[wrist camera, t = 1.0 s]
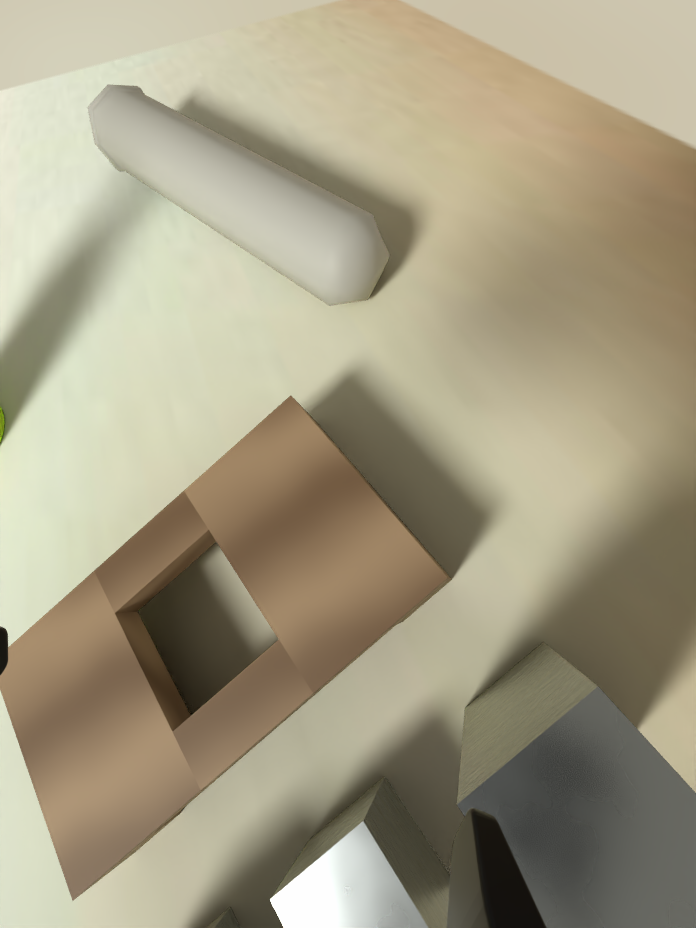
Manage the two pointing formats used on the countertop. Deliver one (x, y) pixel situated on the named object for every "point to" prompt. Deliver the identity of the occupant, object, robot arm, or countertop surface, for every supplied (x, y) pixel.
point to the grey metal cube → (366, 872)
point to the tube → (243, 196)
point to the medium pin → (225, 920)
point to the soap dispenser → (1, 423)
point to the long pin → (580, 800)
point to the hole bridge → (253, 690)
